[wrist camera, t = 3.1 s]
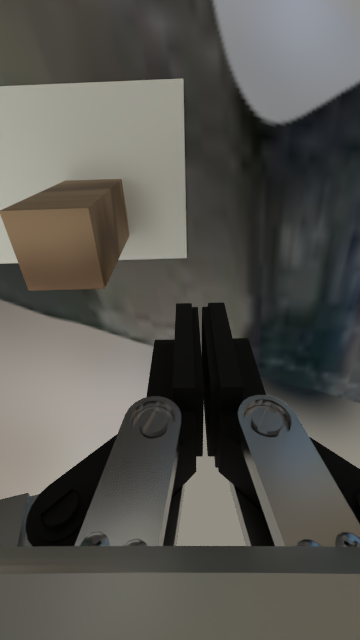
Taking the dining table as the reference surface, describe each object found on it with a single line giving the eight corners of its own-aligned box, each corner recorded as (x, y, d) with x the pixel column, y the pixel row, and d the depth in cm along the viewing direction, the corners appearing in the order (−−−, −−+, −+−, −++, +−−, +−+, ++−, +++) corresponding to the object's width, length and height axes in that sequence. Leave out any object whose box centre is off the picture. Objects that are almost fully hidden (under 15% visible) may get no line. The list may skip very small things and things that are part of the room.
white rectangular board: (-129, 92, 22) (-134, 92, 22) (183, 79, 21) (183, 78, 21) (-43, 263, 30) (-46, 264, 29) (186, 256, 29) (186, 257, 29)
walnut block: (65, 180, 25) (-1, 211, 16) (122, 178, 25) (88, 208, 16) (78, 236, 28) (28, 290, 19) (129, 235, 28) (104, 288, 18)
